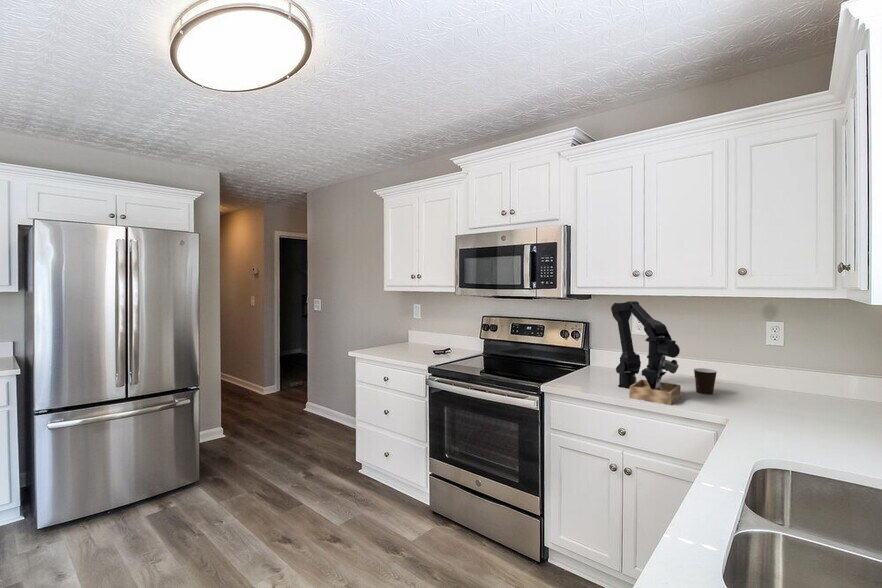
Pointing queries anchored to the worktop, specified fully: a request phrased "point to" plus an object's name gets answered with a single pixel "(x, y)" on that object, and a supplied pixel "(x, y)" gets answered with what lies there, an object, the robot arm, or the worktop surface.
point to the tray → (655, 392)
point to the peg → (658, 384)
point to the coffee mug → (705, 380)
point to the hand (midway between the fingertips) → (655, 389)
